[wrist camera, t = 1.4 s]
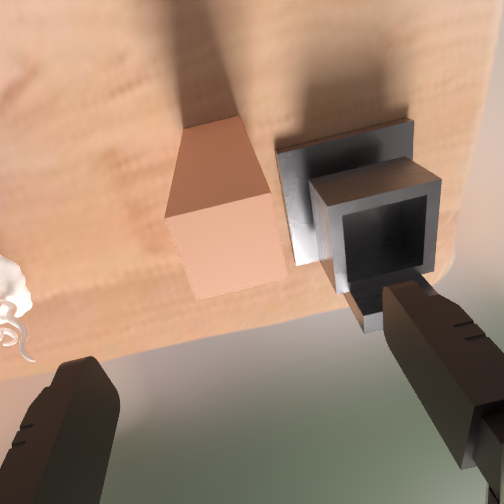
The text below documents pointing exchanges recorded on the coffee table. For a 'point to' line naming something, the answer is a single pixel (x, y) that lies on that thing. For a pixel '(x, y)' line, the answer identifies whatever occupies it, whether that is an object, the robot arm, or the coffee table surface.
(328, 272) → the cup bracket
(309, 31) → the coffee table surface
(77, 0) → the coffee table surface
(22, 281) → the tentacle sculpture
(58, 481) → the robot arm
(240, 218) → the rail post
